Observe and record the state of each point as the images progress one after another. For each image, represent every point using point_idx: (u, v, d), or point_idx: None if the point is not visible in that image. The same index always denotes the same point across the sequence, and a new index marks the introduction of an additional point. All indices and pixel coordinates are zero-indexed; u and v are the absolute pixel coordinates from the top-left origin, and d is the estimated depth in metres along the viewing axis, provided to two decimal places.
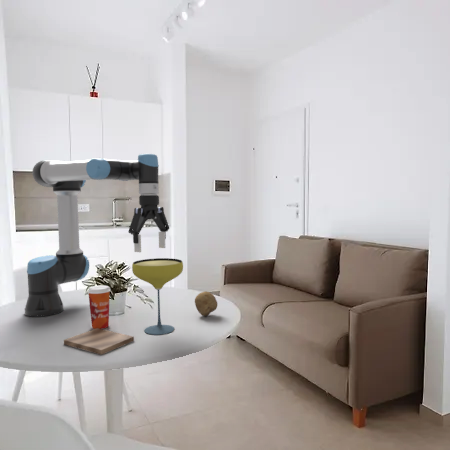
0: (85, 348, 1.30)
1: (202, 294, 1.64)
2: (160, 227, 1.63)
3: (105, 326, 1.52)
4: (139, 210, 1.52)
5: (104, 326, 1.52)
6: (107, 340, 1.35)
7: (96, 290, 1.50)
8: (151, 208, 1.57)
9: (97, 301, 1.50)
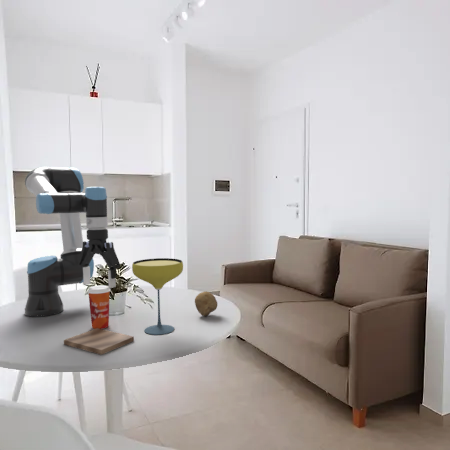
0: (85, 348, 1.30)
1: (202, 294, 1.64)
2: None
3: (105, 326, 1.52)
4: (83, 243, 1.54)
5: (104, 326, 1.52)
6: (107, 340, 1.35)
7: (96, 290, 1.50)
8: (95, 243, 1.51)
9: (97, 301, 1.50)
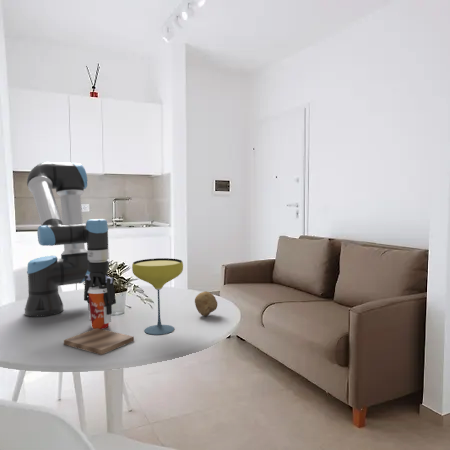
0: (85, 348, 1.30)
1: (202, 294, 1.64)
2: None
3: (105, 326, 1.52)
4: (84, 277, 1.55)
5: (104, 326, 1.52)
6: (107, 340, 1.35)
7: (96, 290, 1.50)
8: (96, 275, 1.52)
9: (97, 301, 1.50)
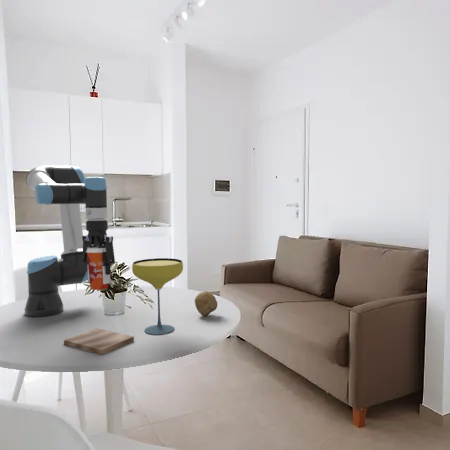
0: (85, 348, 1.30)
1: (202, 294, 1.64)
2: None
3: (104, 287, 1.49)
4: (83, 238, 1.52)
5: (103, 287, 1.48)
6: (107, 340, 1.35)
7: (95, 249, 1.46)
8: (94, 234, 1.48)
9: (96, 261, 1.46)
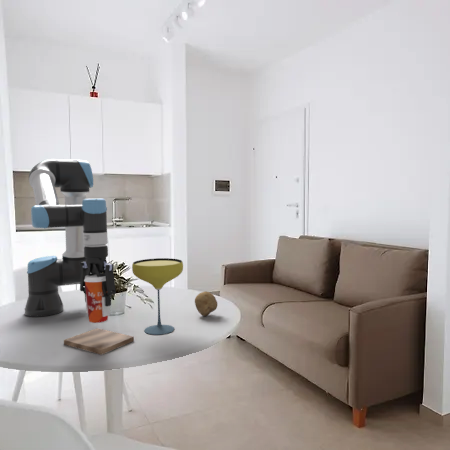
0: (85, 348, 1.30)
1: (202, 294, 1.64)
2: None
3: (104, 319, 1.35)
4: (80, 265, 1.38)
5: (103, 319, 1.34)
6: (107, 340, 1.35)
7: (93, 278, 1.32)
8: (93, 261, 1.34)
9: (95, 291, 1.32)
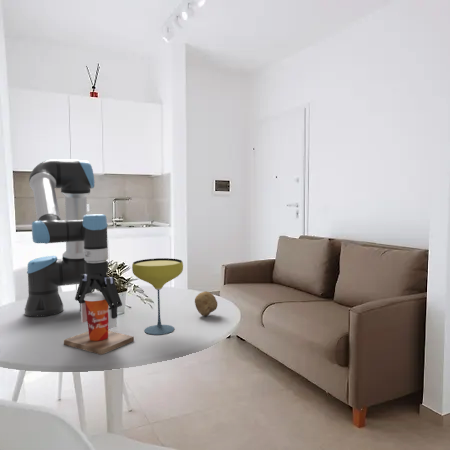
0: (85, 348, 1.30)
1: (202, 294, 1.64)
2: None
3: (104, 337, 1.35)
4: (80, 277, 1.38)
5: (103, 337, 1.35)
6: (107, 340, 1.35)
7: (93, 297, 1.33)
8: (94, 277, 1.35)
9: (95, 310, 1.33)
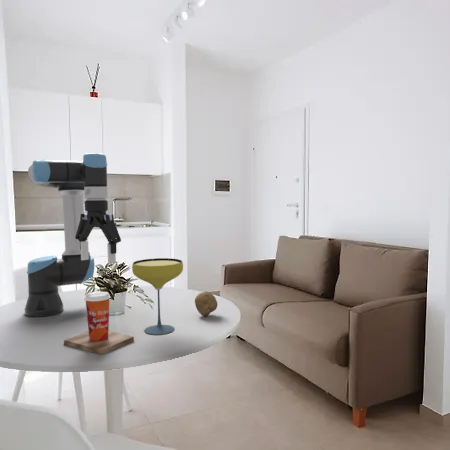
0: (85, 348, 1.30)
1: (202, 294, 1.64)
2: None
3: (104, 338, 1.35)
4: (81, 216, 1.42)
5: (103, 338, 1.35)
6: (107, 340, 1.35)
7: (94, 297, 1.33)
8: (94, 215, 1.39)
9: (95, 310, 1.33)
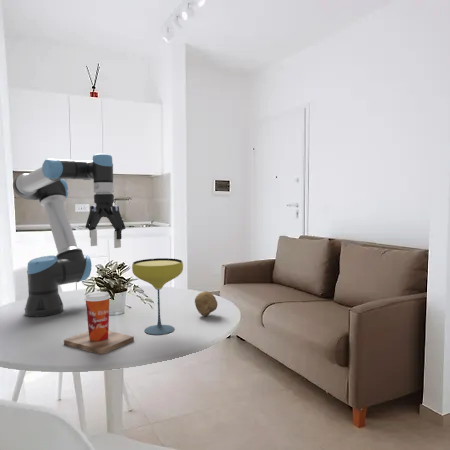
0: (85, 348, 1.30)
1: (202, 294, 1.64)
2: None
3: (104, 338, 1.35)
4: (90, 208, 1.66)
5: (103, 338, 1.35)
6: (107, 340, 1.35)
7: (94, 297, 1.33)
8: (102, 206, 1.62)
9: (95, 310, 1.33)
